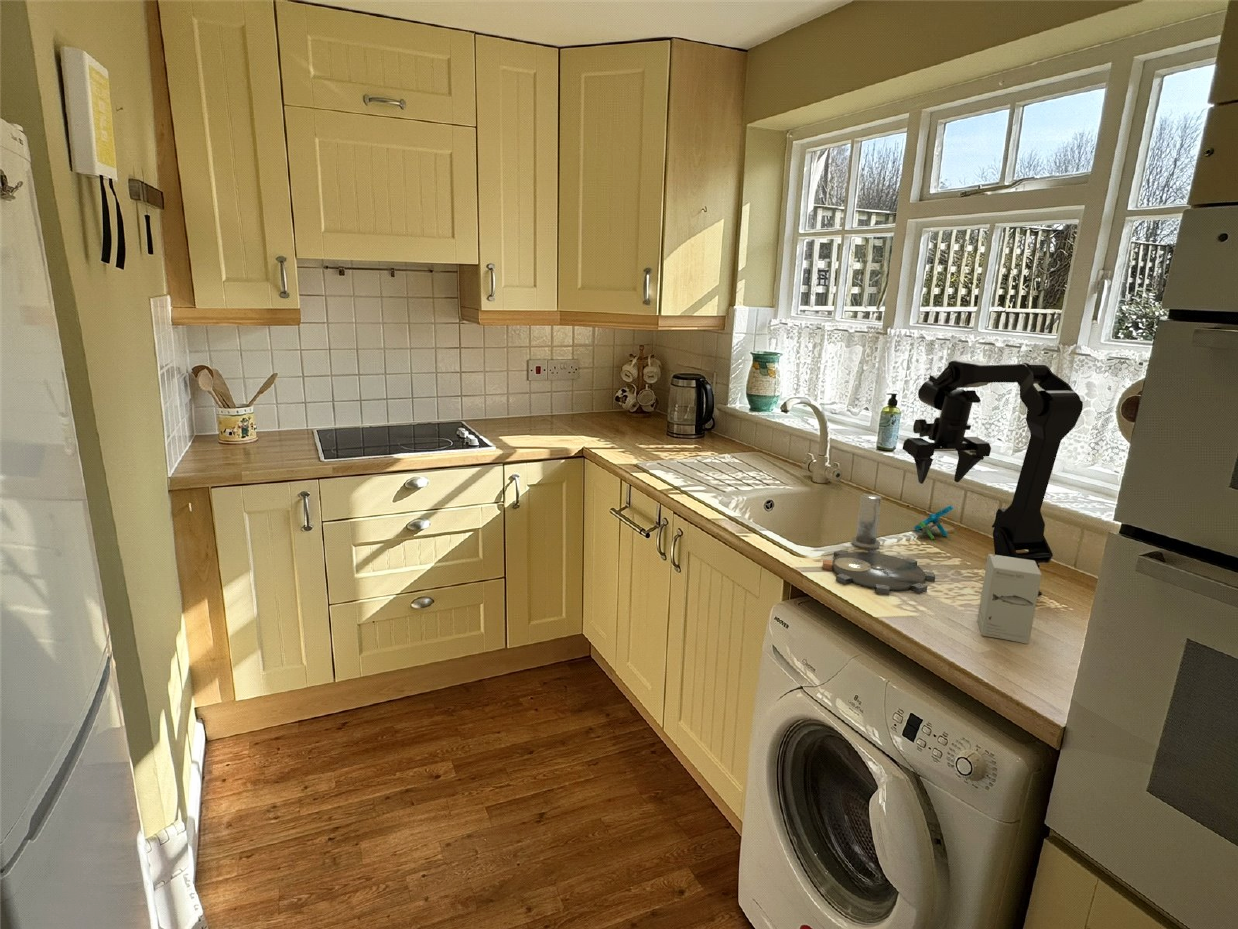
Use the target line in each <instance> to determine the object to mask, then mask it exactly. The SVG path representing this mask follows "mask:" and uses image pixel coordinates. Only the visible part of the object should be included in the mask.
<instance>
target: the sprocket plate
mask: <svg viewBox="0 0 1238 929" xmlns="http://www.w3.org/2000/svg"><path fill="white" fill-rule="evenodd" d="M822 569H823V570H827V571H828V570H829V571H832V572H833V574H835V575H836V576H835V582H837V583H840V584H841V585H844V586H848V585H851V584H852V585H855V586H858V587H861V588H865V589H869V590H874V591H875V594H876V595H883V596H884V595H885V596H890V592H894V593H895V592H897V593H898V592H900V593H901V592H913V593H915V594H918V595H921V594H924V593H927V591H928V585H926V584H925V582H931V583H935V582H936V574H935V573H934V571H925V570H923V568H921V567H920V566H919V565H918V560H916V559H913V558H910V557H908V556H907V557H905V558H901V557H897V556H894V555H890V554H886V553H885V554H884V553H881V552H880V550H879V549H876V550H869V549H868V550H867V551H853V552H847V551H845V550H843V549H841V550H836V551H833V559H831V560H829V559H823V561H822Z"/></svg>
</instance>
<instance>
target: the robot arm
mask: <svg viewBox="0 0 1238 929" xmlns="http://www.w3.org/2000/svg"><path fill="white" fill-rule="evenodd" d="M992 383H1017V384H1018V386H1019V399H1020V400H1021V402H1022V404H1023V405H1024V406H1025V407H1026V416H1025V422H1026V424H1027V426H1028V427H1027V428H1028V430H1029V433H1030V435H1029V436H1030V437H1029V441H1028V445H1027V448H1026V451H1025V454H1024V458H1023V462H1022V465H1021V470H1020V472H1019V477H1018V480H1017V483H1016V488H1015V491H1014V494H1013V498H1012V501H1011V504H1009V505H1008V507H1007V508H1005V507H1004V508H998V509H997V510H996V512H995V519H994V522H993V524H992V525H991V528H992V529H993V530H992V538H993V540H992V541H993V549H994V555H1000V556H1007V557H1013V558H1020V559H1027V560H1034V561H1035V562H1036V564H1037V566H1038V568H1039V569H1040V566H1041V565H1040V564H1042V563H1044V564H1049V563H1050V562H1051V560H1052V559H1053V556H1054V553H1053V551H1052V549H1051V548H1050V547H1051V546H1049V543H1048V541H1047V539H1046V537H1045V535H1044V534H1045V529H1046V522H1045V520H1044V518H1043V515H1042V512H1041V509H1042V506H1043V504H1044V503H1043V502H1044V499H1045V496H1046V492H1047V489H1048V486H1049V482H1050V478H1051V475H1052V473H1053V469H1054V466H1055V465H1054V464H1055V461H1056V458H1057V454H1058V452H1059V449H1060V448H1059V447H1060V446H1061V442H1062V440H1063V439H1064V438H1065V437H1066V436H1067V435H1068V434H1069V433H1070V432H1071V431H1072V430H1074V428H1075V426H1076V425H1077V422H1078V420H1079V418H1080V416H1081V414H1082V412H1083V407H1084V402H1083V401H1082V400H1081V397H1080V395H1079V394H1078V393H1077V392H1075V390H1074V389H1073V388H1072V386H1071V385H1070V384H1069V383H1068V382H1066V381H1065V380H1064V379H1062V378H1060V377H1059V376H1058V375H1056V374H1055V373H1053V371H1052V370H1051V368H1050V367H1049V366H1048V365H1047V364H1045V363H1043V362H1022V363H1009V364H1008V363H1005V364H1004V363H1003V364H990V363H988V362H986V361H980V360H951V361H949V362H948V363H947V367H945V369H944V370H943V371H942V372H941V373H940V374H939V375H937V374H936V375H935V374H931V375H929V377H928V380H926V381H924V383H922V385H920V387H919V389H918V392H917V396H918V399H919V400H920V402H922V403H924V404H925V405H928V406H930V407H932V408H933V409H935V410H938V411H940V415H939V417H938V416H937V417H935V418H934V420H933V422H931V423H928V421H927V420H926V419H918V418H917V419H915V420H914V423H913V427H912V429H913V430H912V431H913V433H914V434H919V437H908V438H906V439H904V442H903V444H902V450H904V452H906V453H907V454H909V456H911V457H912V458H913V459H914V463H915V467H916V474H917V481H918V483H919V484H920V485H922V484H924V482H925V480H926V478H927V476H928V474H929V471H930V468H931V467H932V463H933V461H934V459H933V458H932V457H933V456H934V455H935V454H934V453H935V452H957V455H958V459H957V465H956V468H955V472H954V482H955V483H959V482H961V481H962V479H963V478H964V477H965V476H966V475H967V474H968V473H969V472H970V471H971V470H972V468H974V467H975V466H976V465H977V464H978V463H979V462H980V461H981V460H982V461H983V460H984V459H985V457H990V455H991V450H992V446H991V443H989V442H988V441H986V440H983V439H982V438H980V437H978V436H965V434H966V431H970V430H971V427H972V425H971V424H969V423H968V422H969V419H970V415H971V411H972V407H973V404H975V403H976V404H979V403H981V399H980V397H979V395H978V394H977V391H976V390H975V389H974V390H969V389H968V388H980V387H984V386H988V385H989V384H992ZM1035 385H1038V386H1039V388H1040V389H1042V390H1038V389H1037V388H1036V386H1035ZM963 388H964V389H968V390H964V389H963ZM924 437H927V438H928V440H930V441H933V442H929V441H927V440H925V439H924ZM1023 550H1024V551H1023ZM1025 550H1027V551H1025ZM1018 551H1019V552H1018ZM1020 551H1021V552H1020ZM1038 596H1043V592H1042V591H1041V590H1039V592H1038Z"/></svg>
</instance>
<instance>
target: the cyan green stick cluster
mask: <svg viewBox="0 0 1238 929" xmlns="http://www.w3.org/2000/svg"><path fill="white" fill-rule="evenodd" d="M953 509H954V507H953V505H949V506H946V507H945V508H943V509H942V510H939V511H937V512H936V513H931V514H929V515H928V517H927V518H926V519H924V520H922V521H920V522H918V524H917V525H915V526H914V527H913V529H914V530H915V531H918V530H920V529H921V530H922V531H923V533H925V532H926V533H927V535H928V536H929V538H930V539H931V540H934V539H935V536H934V535H933V534H932V532H931V529H932V528H934V527H936V528H937V529H938V530H939V532H940V533H941V534H942V536H943V537H946V536H948V535H949V533H947V531H946V529H945V528H944V527H943V525H942V522H941V520H940V518H941V517H943V516H945V515H946V514H948V513H950V512H951V511H952V510H953ZM931 523H932V525H930V524H931Z"/></svg>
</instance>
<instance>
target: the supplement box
mask: <svg viewBox="0 0 1238 929" xmlns="http://www.w3.org/2000/svg"><path fill="white" fill-rule="evenodd" d="M1042 574H1043V573H1042V572H1041V570H1040V567H1039V568H1038V566H1037V564H1036V562H1035V561H1034V560H1027V559H1020V558H1013V557H1007V556H1000V555H995V554H992V553H988V555H987V559H986V565H985V572H984V576H983V583H982V589H981V593H980V601H979V606H978V613H977V618H976V619H977V623H978V626H979V632H980V635H981V636H982V637H991V638H995V639H1001V640H1002V639H1003V640H1007V641H1012V642H1017V643H1023V644H1027V645H1028V644H1029V643H1030V639H1031V634H1032V627H1033V622H1034V617H1035V611H1036V606H1037V602H1038V597H1039V595H1038V592H1039V591H1040V586H1041V581H1042V577H1043V576H1042Z"/></svg>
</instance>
